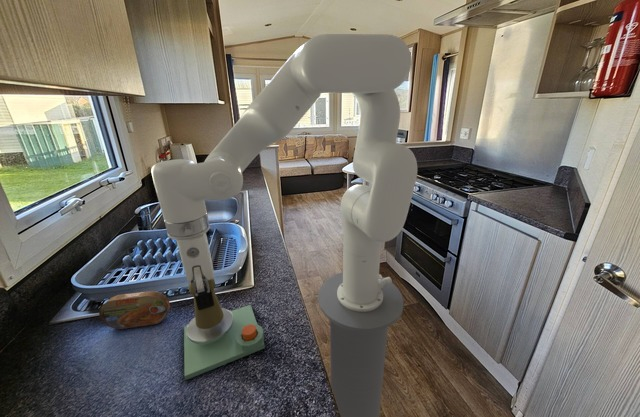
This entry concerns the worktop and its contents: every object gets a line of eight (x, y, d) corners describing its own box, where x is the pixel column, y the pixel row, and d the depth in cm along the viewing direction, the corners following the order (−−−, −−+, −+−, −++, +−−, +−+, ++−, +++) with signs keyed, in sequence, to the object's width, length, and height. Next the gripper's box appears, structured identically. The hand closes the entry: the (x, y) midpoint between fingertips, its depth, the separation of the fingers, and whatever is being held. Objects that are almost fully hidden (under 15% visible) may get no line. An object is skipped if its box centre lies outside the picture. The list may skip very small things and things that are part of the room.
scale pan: (230, 305, 67) (229, 302, 66) (236, 333, 58) (236, 330, 58) (186, 319, 63) (186, 316, 62) (187, 351, 54) (186, 348, 54)
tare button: (254, 328, 60) (254, 322, 59) (258, 337, 58) (257, 331, 57) (241, 333, 59) (240, 327, 58) (244, 343, 56) (243, 337, 56)
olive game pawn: (211, 331, 56) (201, 290, 52) (189, 325, 58) (178, 284, 54) (229, 312, 61) (221, 273, 57) (208, 306, 63) (199, 268, 59)
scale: (252, 307, 70) (251, 298, 69) (267, 349, 58) (266, 338, 57) (185, 330, 63) (182, 320, 62) (185, 382, 51) (182, 371, 50)
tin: (104, 331, 64) (92, 303, 60) (112, 321, 66) (101, 294, 63) (170, 322, 66) (162, 295, 62) (174, 313, 68) (167, 287, 65)
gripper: (212, 237, 45) (228, 318, 52) (205, 206, 60) (218, 273, 66) (163, 248, 42) (187, 333, 49) (168, 213, 57) (186, 282, 63)
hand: (205, 298), depth 58 cm, fingers closed on olive game pawn, 5 cm apart
